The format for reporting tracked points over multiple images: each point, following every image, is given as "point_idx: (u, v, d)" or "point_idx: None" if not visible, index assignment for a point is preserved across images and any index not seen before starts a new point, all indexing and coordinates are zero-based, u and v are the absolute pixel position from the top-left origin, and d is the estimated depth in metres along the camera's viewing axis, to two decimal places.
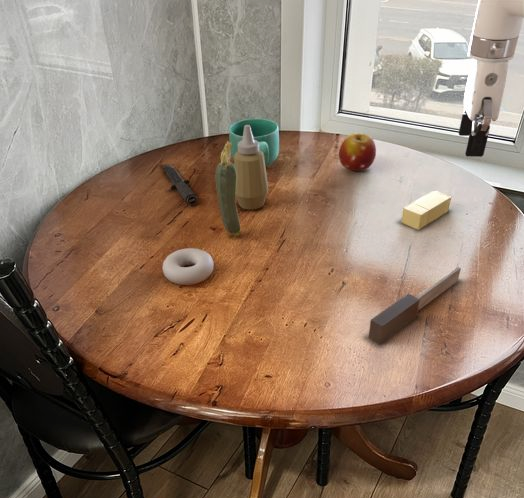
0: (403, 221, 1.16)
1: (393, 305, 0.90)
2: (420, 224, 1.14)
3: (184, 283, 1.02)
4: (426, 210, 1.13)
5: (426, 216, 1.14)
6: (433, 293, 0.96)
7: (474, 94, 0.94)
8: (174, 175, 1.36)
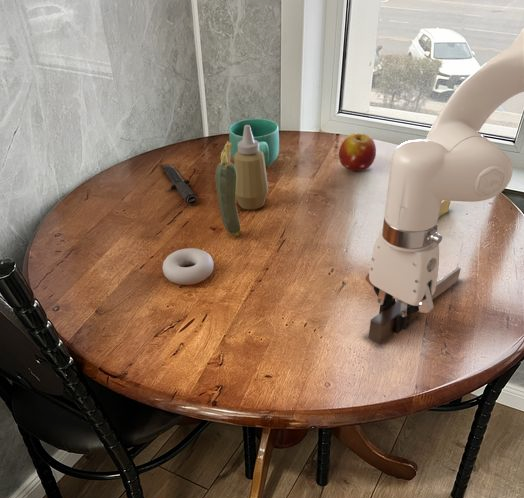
0: None
1: (393, 305, 0.90)
2: None
3: (184, 283, 1.02)
4: None
5: None
6: None
7: (416, 283, 0.80)
8: (174, 175, 1.36)
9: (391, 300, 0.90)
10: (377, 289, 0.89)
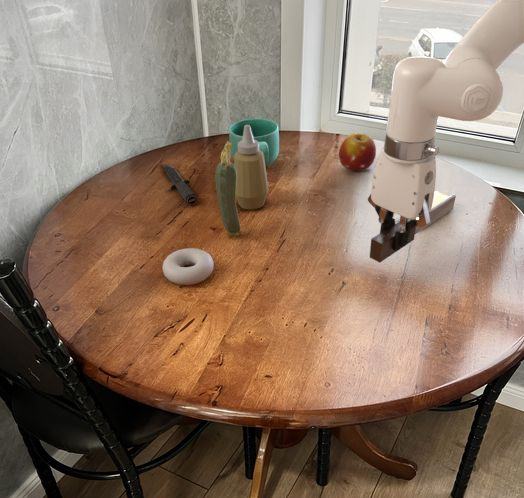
0: None
1: (392, 226, 0.97)
2: None
3: (184, 283, 1.02)
4: None
5: None
6: (430, 218, 1.03)
7: (414, 195, 0.87)
8: (174, 175, 1.36)
9: (391, 219, 0.97)
10: (378, 209, 0.96)
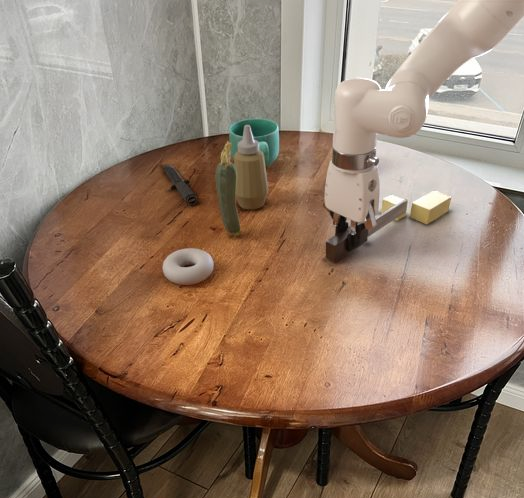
0: (383, 212, 1.19)
1: (345, 229, 1.07)
2: None
3: (184, 283, 1.02)
4: None
5: None
6: (383, 221, 1.13)
7: (360, 201, 0.97)
8: (174, 175, 1.36)
9: (344, 223, 1.06)
10: (332, 213, 1.06)
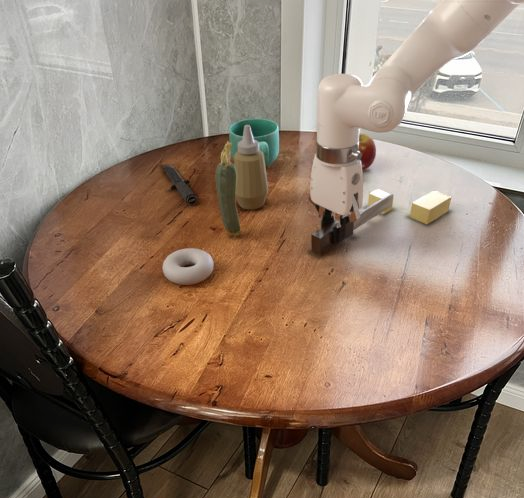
0: None
1: (331, 222, 1.09)
2: None
3: (184, 283, 1.02)
4: None
5: None
6: (368, 214, 1.15)
7: (344, 195, 0.99)
8: (174, 175, 1.36)
9: (330, 216, 1.09)
10: (318, 207, 1.08)
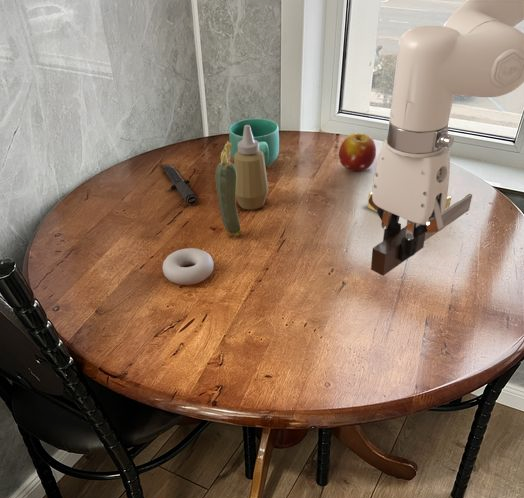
0: (369, 206, 1.22)
1: (397, 232, 0.83)
2: None
3: (184, 283, 1.02)
4: None
5: None
6: None
7: (424, 196, 0.73)
8: (174, 175, 1.36)
9: (396, 224, 0.82)
10: (381, 212, 0.81)
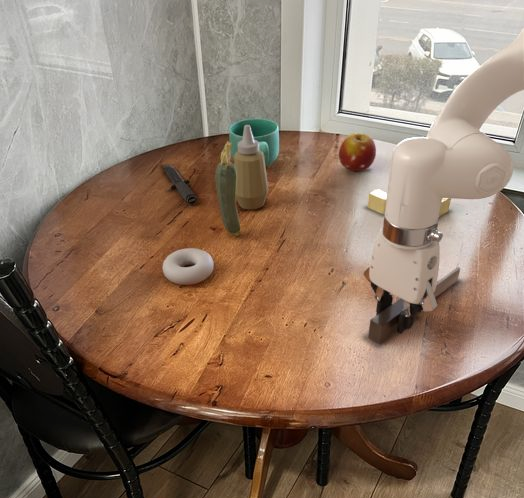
0: (369, 206, 1.22)
1: (392, 305, 0.90)
2: None
3: (184, 283, 1.02)
4: None
5: None
6: None
7: (416, 281, 0.80)
8: (174, 175, 1.36)
9: (388, 296, 0.90)
10: (374, 285, 0.89)
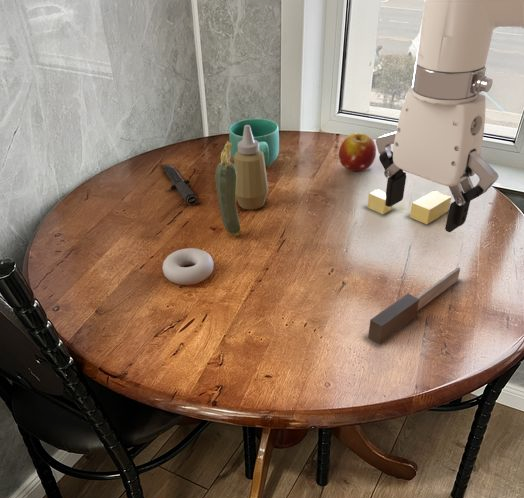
0: (369, 206, 1.22)
1: (392, 305, 0.90)
2: (385, 209, 1.19)
3: (184, 283, 1.02)
4: None
5: None
6: (433, 293, 0.96)
7: (456, 151, 0.63)
8: (174, 175, 1.36)
9: (401, 173, 0.73)
10: (384, 158, 0.73)
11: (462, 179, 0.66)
